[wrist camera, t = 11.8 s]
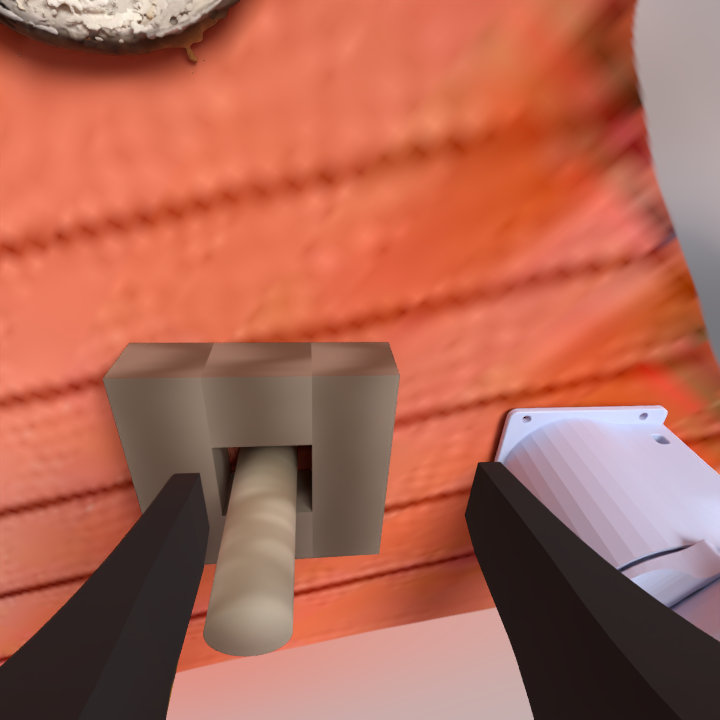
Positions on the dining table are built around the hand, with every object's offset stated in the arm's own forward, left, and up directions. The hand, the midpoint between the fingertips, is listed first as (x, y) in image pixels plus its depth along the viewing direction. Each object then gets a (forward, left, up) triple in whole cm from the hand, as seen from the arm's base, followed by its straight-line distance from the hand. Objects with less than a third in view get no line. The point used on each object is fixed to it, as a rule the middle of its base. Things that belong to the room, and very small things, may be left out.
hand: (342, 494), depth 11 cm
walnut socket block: (+3, +7, -10) cm, 13 cm away
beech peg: (+3, +7, -10) cm, 13 cm away
